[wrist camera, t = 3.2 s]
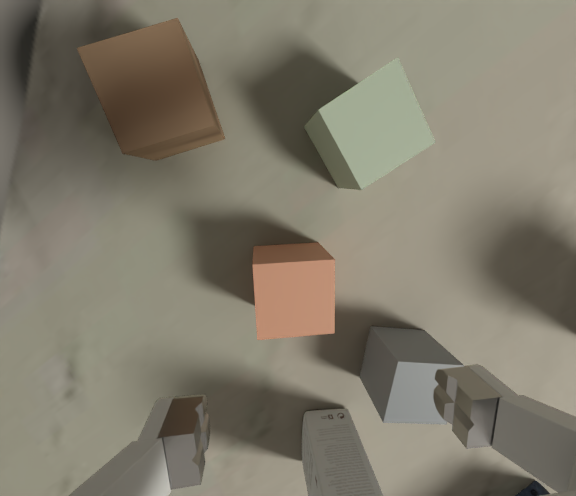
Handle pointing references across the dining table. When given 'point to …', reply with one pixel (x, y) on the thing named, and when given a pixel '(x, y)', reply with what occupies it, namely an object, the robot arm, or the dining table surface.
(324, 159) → the sage cube
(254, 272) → the terracotta cube
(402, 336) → the slate cube
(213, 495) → the dining table surface
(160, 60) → the walnut cube
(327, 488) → the skincare box
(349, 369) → the dining table surface
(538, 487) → the vhs cassette tape
